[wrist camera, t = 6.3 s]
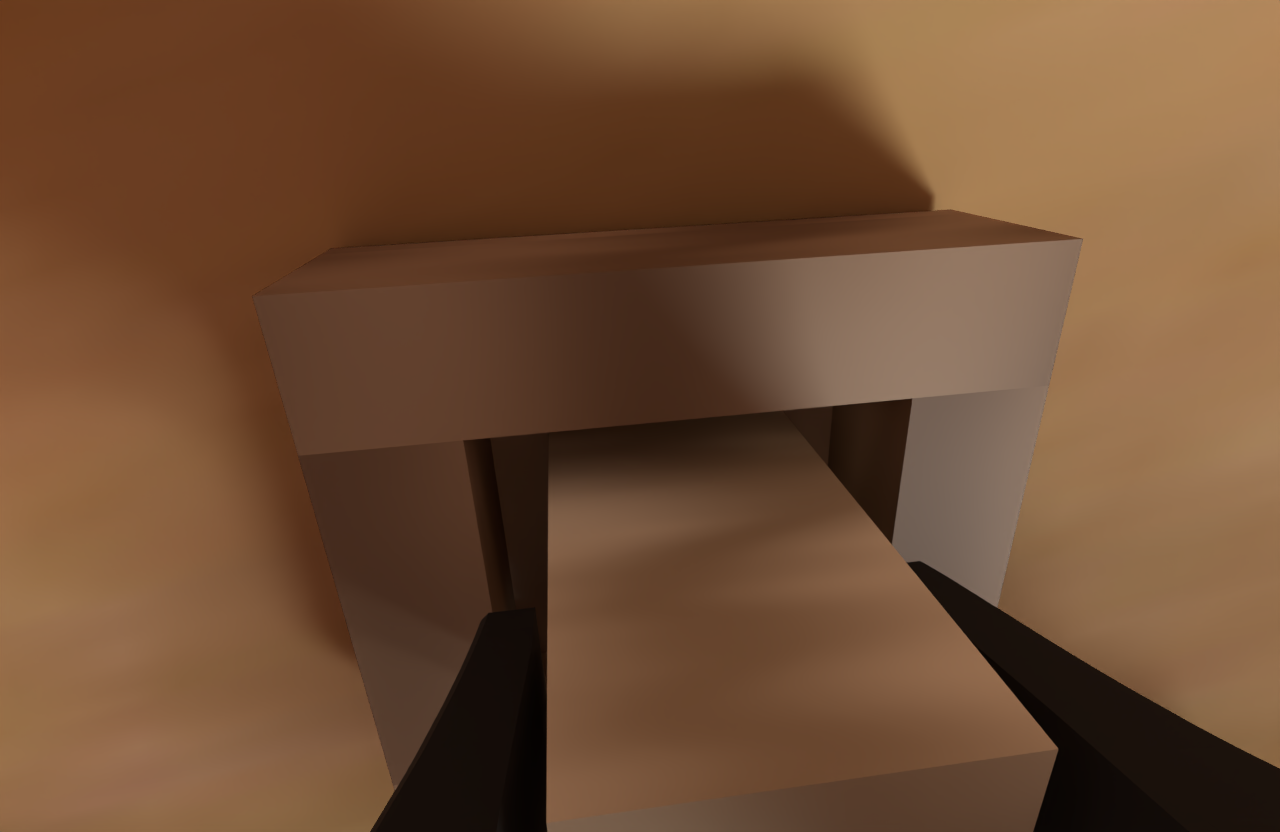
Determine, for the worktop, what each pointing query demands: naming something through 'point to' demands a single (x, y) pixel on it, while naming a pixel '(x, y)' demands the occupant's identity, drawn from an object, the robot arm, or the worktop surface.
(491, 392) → the walnut holder
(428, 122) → the worktop surface
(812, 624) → the birch post
